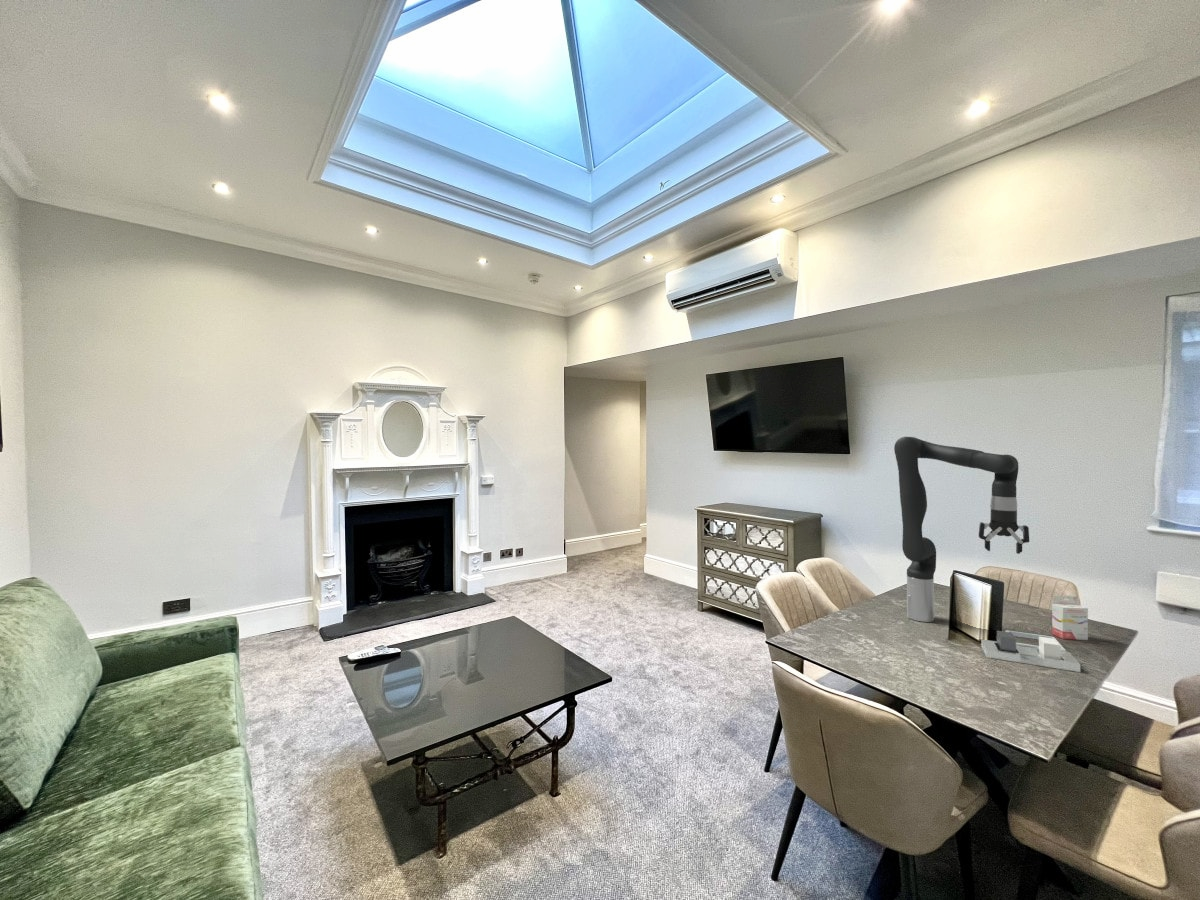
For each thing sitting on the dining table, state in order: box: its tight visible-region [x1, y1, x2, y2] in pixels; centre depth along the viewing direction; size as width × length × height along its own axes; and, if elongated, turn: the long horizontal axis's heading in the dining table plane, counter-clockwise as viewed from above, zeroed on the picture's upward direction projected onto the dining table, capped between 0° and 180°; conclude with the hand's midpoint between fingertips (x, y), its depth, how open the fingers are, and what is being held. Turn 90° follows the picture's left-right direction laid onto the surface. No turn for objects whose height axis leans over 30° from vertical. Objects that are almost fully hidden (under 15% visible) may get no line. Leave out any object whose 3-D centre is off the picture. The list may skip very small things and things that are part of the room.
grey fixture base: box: [980, 630, 1081, 673], centre depth 160 cm, size 23×10×7 cm, turn 60°
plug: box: [1038, 637, 1062, 660], centre depth 157 cm, size 4×6×7 cm, turn 149°
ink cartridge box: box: [1051, 595, 1089, 641], centre depth 176 cm, size 9×5×15 cm, turn 84°
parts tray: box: [1004, 629, 1067, 652], centre depth 171 cm, size 14×14×2 cm
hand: (1003, 552), depth 178 cm, fingers open, 8 cm apart
